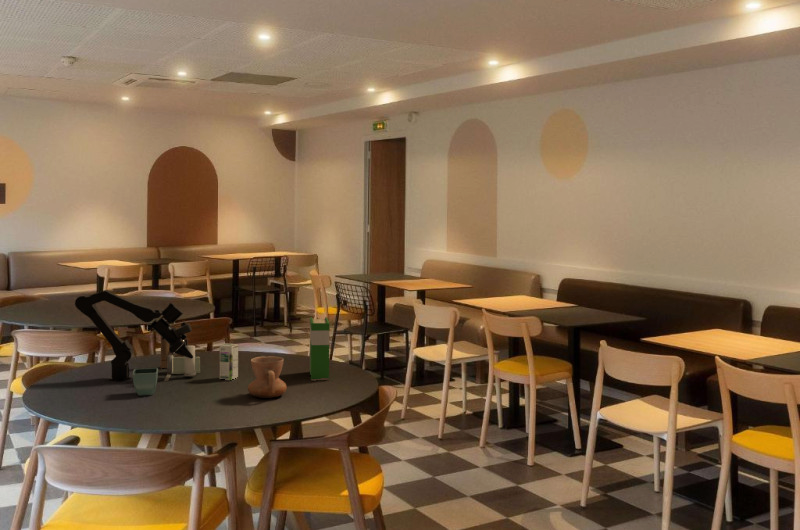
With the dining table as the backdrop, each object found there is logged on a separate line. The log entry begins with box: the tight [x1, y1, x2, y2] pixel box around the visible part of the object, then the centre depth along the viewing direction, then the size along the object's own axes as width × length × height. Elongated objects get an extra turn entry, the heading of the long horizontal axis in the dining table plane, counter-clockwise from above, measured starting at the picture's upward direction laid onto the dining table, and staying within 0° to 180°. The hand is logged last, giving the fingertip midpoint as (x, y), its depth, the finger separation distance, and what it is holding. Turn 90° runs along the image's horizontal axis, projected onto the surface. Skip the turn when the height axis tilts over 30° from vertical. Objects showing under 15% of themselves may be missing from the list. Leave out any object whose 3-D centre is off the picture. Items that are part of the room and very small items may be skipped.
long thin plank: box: [163, 354, 174, 382], centre depth 314 cm, size 18×2×8 cm, turn 11°
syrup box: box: [219, 343, 239, 381], centre depth 310 cm, size 6×6×14 cm
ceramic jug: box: [247, 355, 287, 399], centre depth 282 cm, size 18×14×14 cm
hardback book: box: [309, 316, 330, 380], centre depth 317 cm, size 18×7×24 cm, turn 9°
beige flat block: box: [172, 356, 201, 375], centre depth 319 cm, size 11×2×7 cm, turn 101°
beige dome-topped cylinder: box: [183, 345, 197, 377], centre depth 311 cm, size 5×5×12 cm
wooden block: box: [159, 336, 187, 370], centre depth 330 cm, size 4×11×18 cm, turn 111°
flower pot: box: [131, 367, 159, 396], centre depth 283 cm, size 9×9×9 cm
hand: (193, 356), depth 312 cm, fingers closed on beige dome-topped cylinder, 4 cm apart
